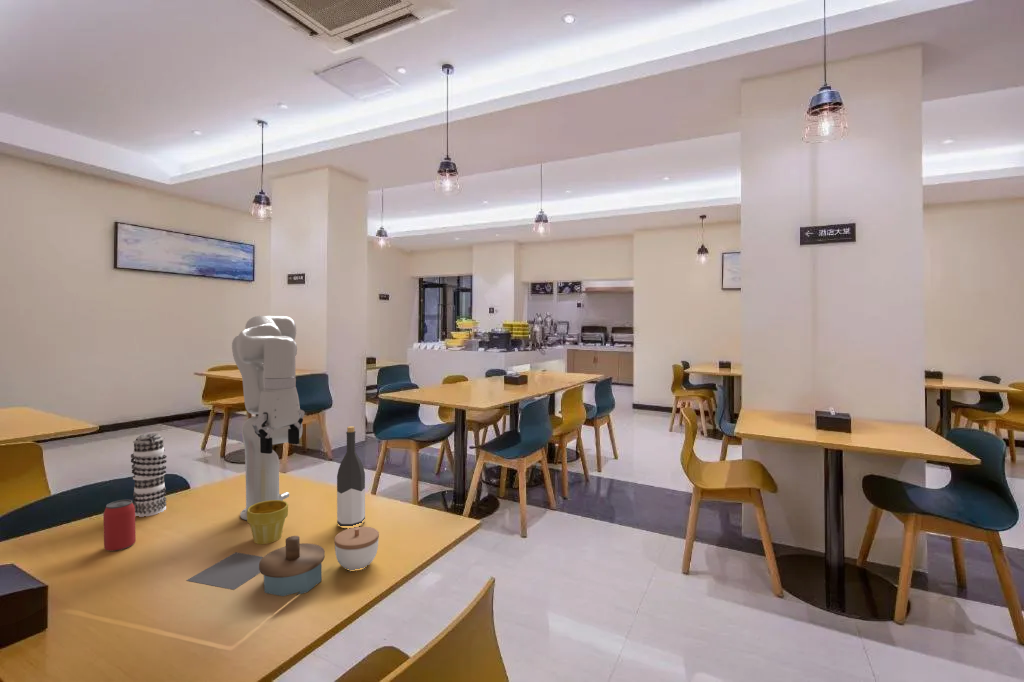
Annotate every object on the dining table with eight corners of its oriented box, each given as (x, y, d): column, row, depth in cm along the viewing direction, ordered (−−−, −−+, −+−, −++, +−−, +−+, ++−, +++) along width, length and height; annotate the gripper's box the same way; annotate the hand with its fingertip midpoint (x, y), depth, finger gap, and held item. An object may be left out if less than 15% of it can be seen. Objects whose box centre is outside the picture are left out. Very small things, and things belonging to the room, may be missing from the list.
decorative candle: (128, 512, 149) (127, 435, 149) (163, 503, 156) (162, 430, 156) (135, 519, 143) (133, 440, 143) (171, 510, 151) (169, 434, 150)
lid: (289, 544, 118) (289, 523, 118) (336, 551, 114) (336, 529, 114) (244, 572, 104) (244, 548, 104) (296, 581, 101) (296, 557, 101)
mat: (235, 554, 122) (235, 552, 122) (279, 561, 119) (279, 559, 119) (186, 582, 109) (186, 580, 109) (234, 592, 105) (234, 589, 105)
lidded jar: (387, 558, 121) (387, 523, 120) (361, 580, 111) (361, 541, 110) (353, 552, 124) (353, 517, 124) (325, 572, 114) (324, 534, 114)
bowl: (290, 566, 117) (289, 546, 117) (331, 573, 114) (330, 553, 114) (251, 592, 105) (251, 570, 105) (296, 601, 102) (296, 578, 102)
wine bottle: (364, 516, 147) (364, 423, 146) (365, 527, 140) (365, 428, 139) (337, 520, 144) (336, 425, 143) (337, 531, 137) (336, 430, 136)
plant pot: (296, 536, 133) (296, 503, 133) (264, 552, 124) (263, 516, 123) (271, 529, 138) (271, 497, 137) (238, 544, 128) (238, 509, 128)
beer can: (117, 553, 123) (116, 508, 122) (97, 550, 124) (96, 506, 124) (141, 542, 129) (141, 499, 129) (122, 539, 130) (121, 497, 130)
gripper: (291, 379, 131) (292, 439, 132) (241, 387, 115) (242, 455, 115) (314, 380, 129) (314, 441, 130) (266, 389, 113) (267, 458, 113)
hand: (280, 448), depth 123 cm, fingers open, 9 cm apart
